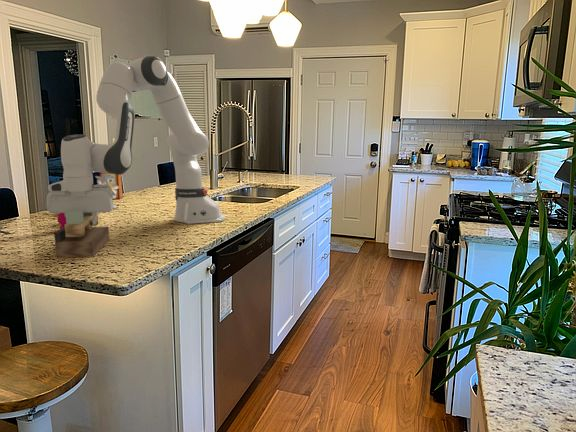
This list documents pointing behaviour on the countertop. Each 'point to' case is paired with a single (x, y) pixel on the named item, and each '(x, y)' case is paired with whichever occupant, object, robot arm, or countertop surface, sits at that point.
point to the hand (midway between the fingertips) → (82, 225)
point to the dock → (81, 242)
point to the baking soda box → (117, 182)
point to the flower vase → (108, 184)
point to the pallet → (79, 227)
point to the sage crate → (74, 216)
